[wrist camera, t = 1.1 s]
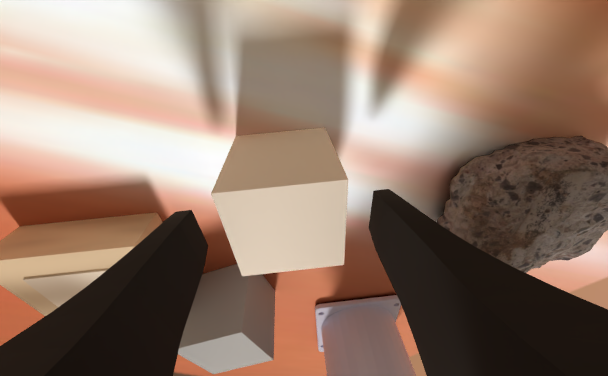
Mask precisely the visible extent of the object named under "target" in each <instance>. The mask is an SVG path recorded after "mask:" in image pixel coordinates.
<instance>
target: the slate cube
mask: <svg viewBox="0 0 608 376" xmlns="http://www.w3.org/2000/svg"><path fill="white" fill-rule="evenodd" d="M274 317H275V290H274V289H273V288H272V286H271V285H270V284H269V282H268V281H267V280H266V278H265V277H264V276H263V275H262V274H259V275H250V276H242V275H241V272H240V269H239V267H238V264H235V265H231V266H228V267H225V268H221V269H218V270H215V271H211V272H208V273H205V274H202V276H201V279H200V283H199V286H198V289H197V292H196V295H195V298H194V301H193V304H192V307H191V310H190V313H189V316H188V319H187V322H186V325H185V328H184V331H183V335H182V338H181V342H180V346H179V350H178V354H179V355H180V356H182V357H184V358H186V359H187V360H189V361H191V362H193V363H195V364H196V365H198V366H200V367H202V368H203V369H205V370H207V371H209V372H210V373H212V374H216V373H220V372H225V371H229V370H233V369H237V368H241V367H246V366H250V365H254V364H258V363H262V362H267V361H271V360H273V358H274Z"/></svg>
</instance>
